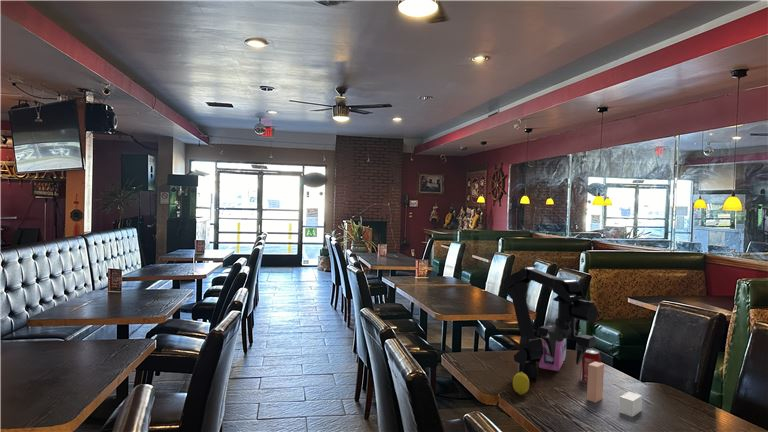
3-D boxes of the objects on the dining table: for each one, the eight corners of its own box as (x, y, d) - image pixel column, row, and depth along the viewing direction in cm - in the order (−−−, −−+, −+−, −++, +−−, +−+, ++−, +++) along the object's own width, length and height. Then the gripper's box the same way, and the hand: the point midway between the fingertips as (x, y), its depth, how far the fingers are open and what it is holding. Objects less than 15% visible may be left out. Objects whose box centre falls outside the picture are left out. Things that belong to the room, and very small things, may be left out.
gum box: (558, 373, 186) (560, 338, 185) (537, 369, 190) (539, 335, 189) (566, 356, 207) (567, 325, 207) (547, 353, 211) (548, 323, 210)
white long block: (577, 399, 160) (578, 383, 160) (587, 394, 165) (588, 378, 165) (632, 418, 147) (633, 401, 147) (641, 412, 151) (642, 395, 151)
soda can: (601, 387, 172) (603, 354, 172) (582, 385, 174) (583, 352, 173) (597, 380, 179) (598, 348, 179) (578, 378, 180) (579, 347, 180)
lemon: (529, 393, 164) (530, 370, 164) (528, 399, 159) (529, 375, 159) (512, 390, 166) (513, 368, 166) (511, 396, 161) (512, 373, 161)
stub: (586, 399, 159) (588, 364, 159) (593, 396, 162) (595, 361, 162) (595, 402, 157) (597, 366, 156) (602, 398, 160) (604, 363, 160)
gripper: (529, 313, 165) (528, 358, 165) (581, 325, 151) (579, 373, 151) (546, 309, 172) (544, 352, 173) (597, 320, 158) (595, 366, 159)
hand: (564, 360), depth 164 cm, fingers open, 9 cm apart
